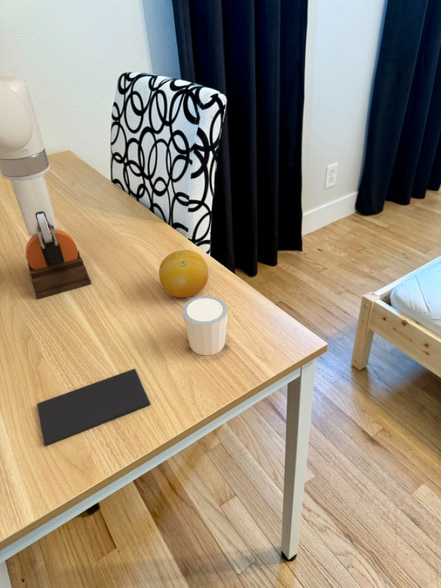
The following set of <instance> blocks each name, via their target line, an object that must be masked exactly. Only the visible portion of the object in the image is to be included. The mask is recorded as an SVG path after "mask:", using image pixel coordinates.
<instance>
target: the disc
mask: <svg viewBox="0 0 441 588" xmlns="http://www.w3.org/2000/svg"><path fill="white" fill-rule="evenodd" d="M54 233H55V236H56V239H57V242H58V243H59V244H60V248H61V251H62V254H63V258H64V262H68V261H72V260H76V259H77V256H78V251H79V250H78V247H76V246H77V243H76V242H75V240H74V238H73V237H72V236H71V235H70V234H69V233H67V232H65V231H63V230H61V229H56V231H54ZM50 234H51V236H52V233H50ZM41 236H42V239H43V238H44V237H43V235H41ZM41 247H42V246H41V243H40V240H39V237H38V234H36V235H33V236H30V238H29V240H27V243H26V245H25V258H26V257H27V259H26V261H28V262H27V264H28V263H29V265H30V266H31V267H32V268H33V269H34V270H37V269H41V268H45V267H49V266H47V265H46V262H45V259H44V256H43V253H42V250H41Z"/></svg>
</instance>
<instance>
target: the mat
mask: <svg viewBox="0 0 441 588" xmlns="http://www.w3.org/2000/svg"><path fill="white" fill-rule="evenodd" d="M150 406H151V401H150V400H149V397H148V395H147V392H146V390H145V388H144V386H143V384H142V381H141V379H140V377H139V374H138V372H137V370H136V368H133V369H130V370H126V371H124V372H121V373H118V374H115V375H113V376H111V377H107V378H104V379H102V380H99V381H97V382H93V383H90V384H88V385H85V386H82V387H79V388H76V389H73V390H70V391H68V392H65V393H63V394H60V395H56V396H54V397H51V398H49V399H45V400H43V401H40V402H38V403H36V407H37V411H38V417H39V423H40V429H41V434H42V440H43V445H44V447H48V446H50V445H53V444H55V443H58V442H60V441H63V440H66V439H68V438H71V437H74V436H76V435H78V434H81V433H83V432H86V431H89V430H91V429H94V428H97V427H99V426H102V425H104V424H107V423H108V422H109V423H110V422H111V421H114V420H116V419H120V418H122V417H124V416H127V415H129V414H131V413H134V412H137V411H139V410H142V409H145V408H147V407H150Z"/></svg>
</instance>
